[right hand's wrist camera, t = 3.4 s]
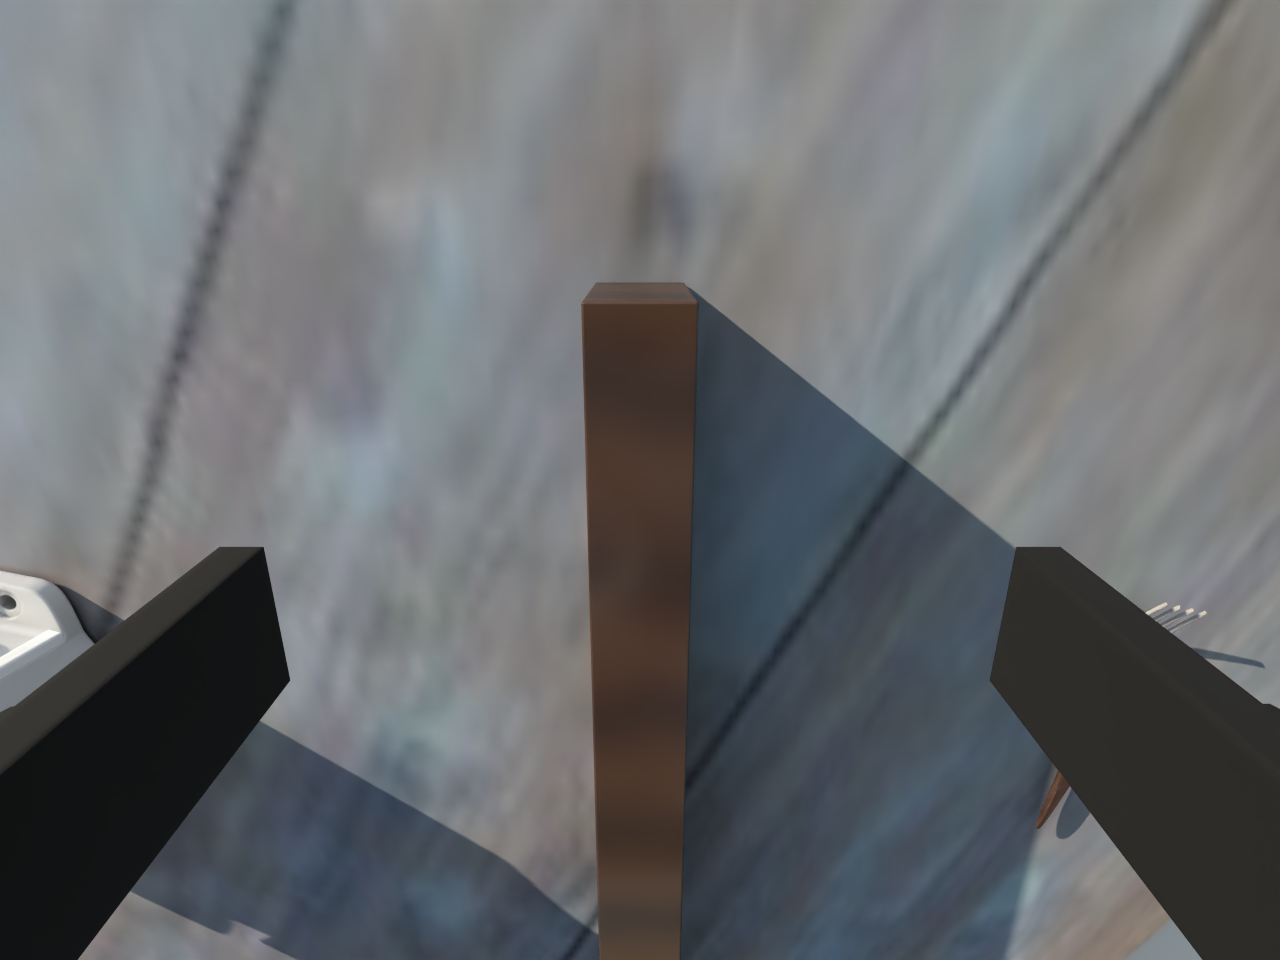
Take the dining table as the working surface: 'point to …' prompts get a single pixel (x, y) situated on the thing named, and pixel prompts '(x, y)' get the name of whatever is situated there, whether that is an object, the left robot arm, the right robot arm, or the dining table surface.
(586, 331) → the walnut beam
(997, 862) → the dining table surface
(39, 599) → the left robot arm
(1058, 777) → the fork
